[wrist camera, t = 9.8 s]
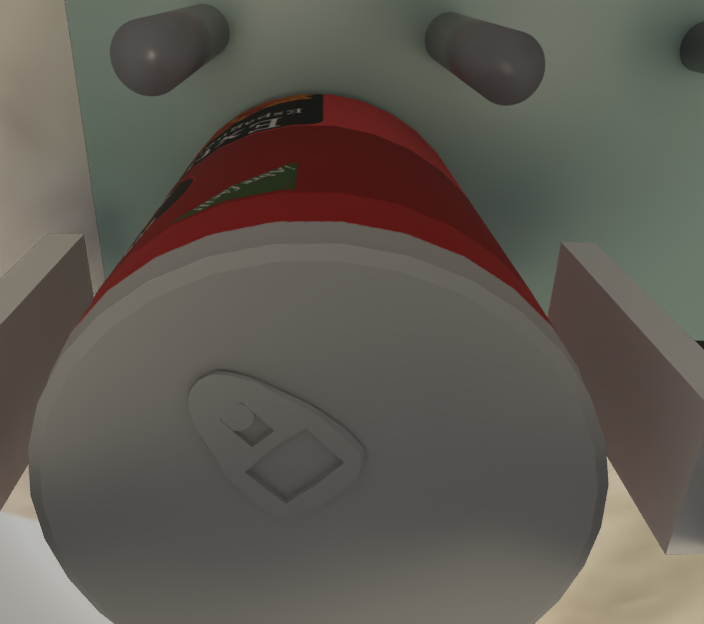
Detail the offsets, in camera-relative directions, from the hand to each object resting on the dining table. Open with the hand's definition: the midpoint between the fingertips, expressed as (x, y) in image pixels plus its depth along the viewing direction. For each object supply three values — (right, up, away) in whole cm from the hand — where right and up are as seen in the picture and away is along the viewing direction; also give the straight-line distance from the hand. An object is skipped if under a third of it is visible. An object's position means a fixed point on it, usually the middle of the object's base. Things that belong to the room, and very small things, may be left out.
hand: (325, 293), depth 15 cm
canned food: (0, +2, +4) cm, 4 cm away
